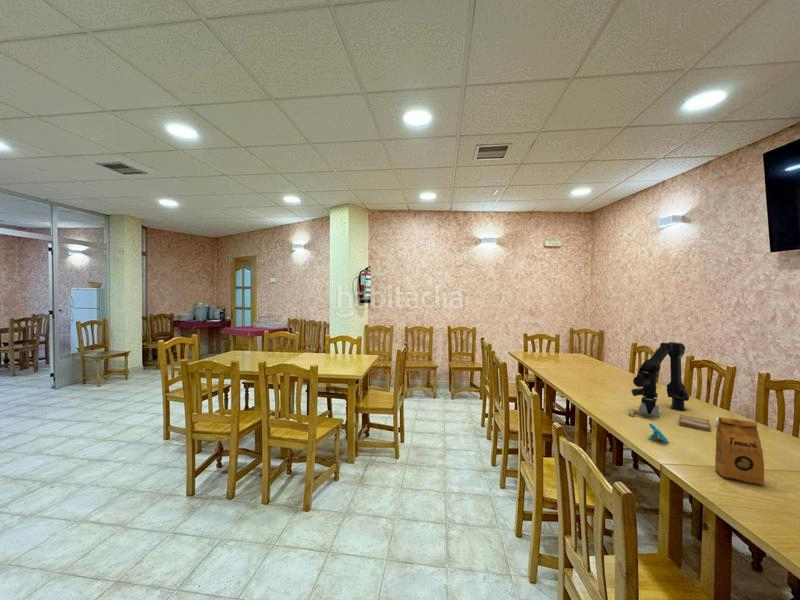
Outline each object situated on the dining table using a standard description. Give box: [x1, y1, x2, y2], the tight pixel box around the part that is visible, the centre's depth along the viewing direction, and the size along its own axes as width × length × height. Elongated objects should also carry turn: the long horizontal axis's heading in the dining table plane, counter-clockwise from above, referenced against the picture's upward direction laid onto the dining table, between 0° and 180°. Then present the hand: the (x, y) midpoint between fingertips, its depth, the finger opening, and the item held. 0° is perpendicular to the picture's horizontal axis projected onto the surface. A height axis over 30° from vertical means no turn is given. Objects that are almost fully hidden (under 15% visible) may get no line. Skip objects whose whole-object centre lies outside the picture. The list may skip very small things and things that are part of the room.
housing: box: [638, 402, 661, 419], centre depth 190 cm, size 5×10×6 cm, turn 50°
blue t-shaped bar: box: [648, 423, 670, 444], centre depth 159 cm, size 11×6×10 cm
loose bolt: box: [628, 409, 635, 417], centre depth 191 cm, size 7×3×3 cm, turn 139°
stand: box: [678, 414, 711, 433], centre depth 177 cm, size 14×12×2 cm
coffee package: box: [714, 416, 765, 486], centre depth 126 cm, size 10×12×22 cm
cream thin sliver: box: [715, 416, 725, 429], centre depth 172 cm, size 5×5×5 cm
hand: (649, 412), depth 190 cm, fingers open, 5 cm apart
